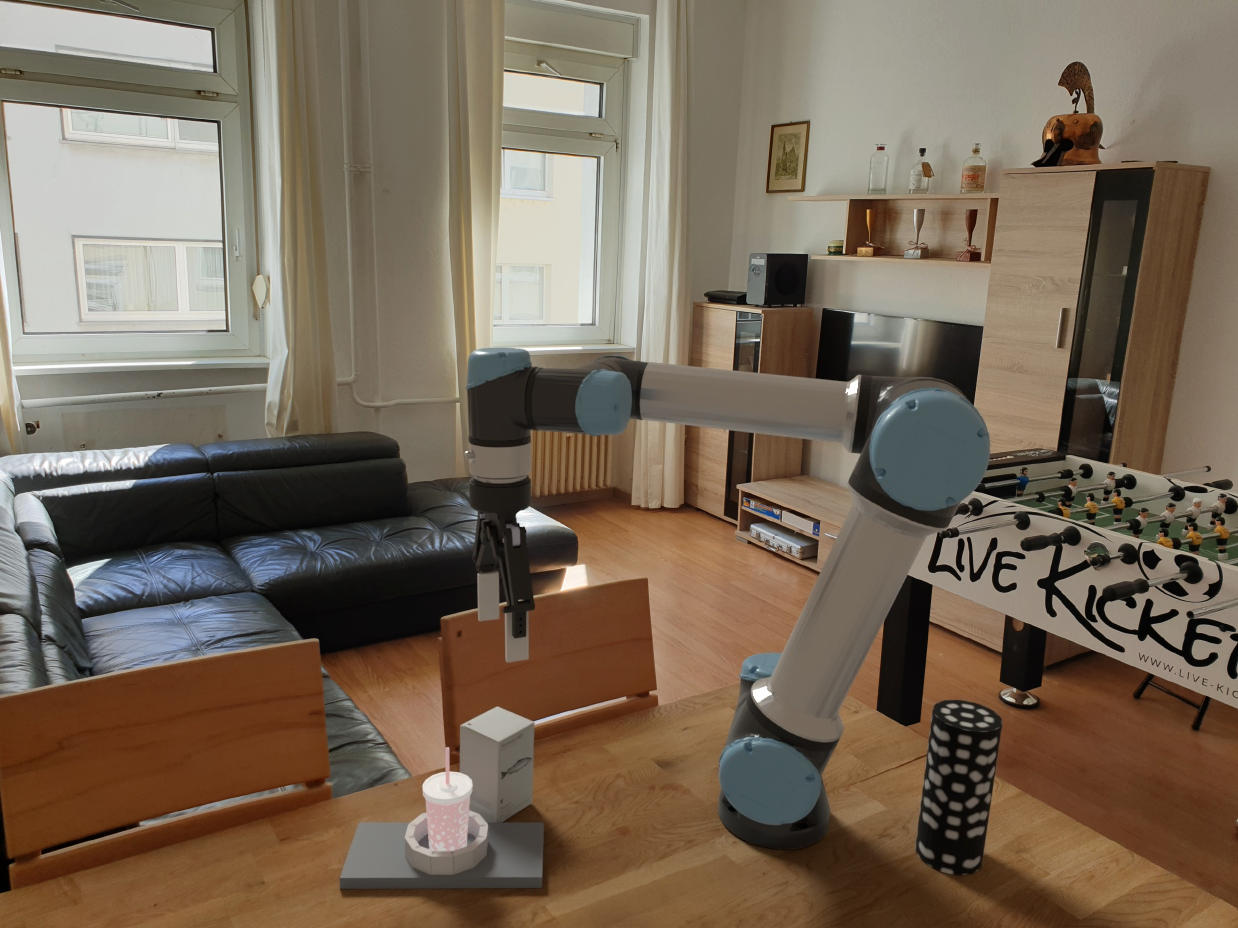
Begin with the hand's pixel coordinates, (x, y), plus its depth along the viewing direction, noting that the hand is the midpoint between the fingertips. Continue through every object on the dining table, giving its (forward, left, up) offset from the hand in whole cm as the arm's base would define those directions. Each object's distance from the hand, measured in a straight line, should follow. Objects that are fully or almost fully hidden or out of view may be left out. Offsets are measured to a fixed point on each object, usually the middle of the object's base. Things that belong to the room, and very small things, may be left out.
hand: (502, 638), depth 120 cm
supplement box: (+2, -4, -27) cm, 27 cm away
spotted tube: (-56, -18, -27) cm, 65 cm away
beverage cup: (+3, +9, -25) cm, 27 cm away
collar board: (+3, +9, -27) cm, 28 cm away
